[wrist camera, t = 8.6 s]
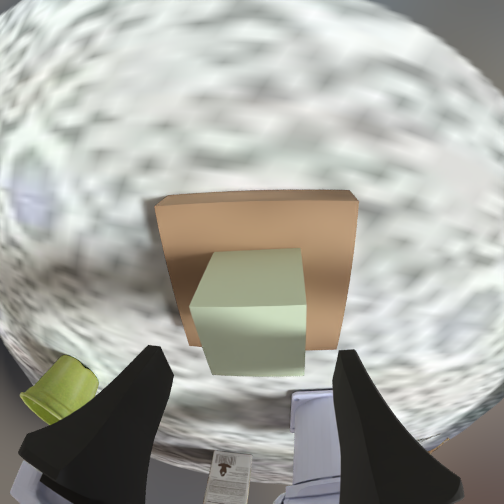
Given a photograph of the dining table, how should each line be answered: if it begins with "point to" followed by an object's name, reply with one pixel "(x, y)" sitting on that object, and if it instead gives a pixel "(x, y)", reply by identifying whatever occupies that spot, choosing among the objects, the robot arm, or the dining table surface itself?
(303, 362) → the sage cube
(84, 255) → the dining table surface
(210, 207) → the tan block
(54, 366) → the plant pot
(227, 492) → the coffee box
